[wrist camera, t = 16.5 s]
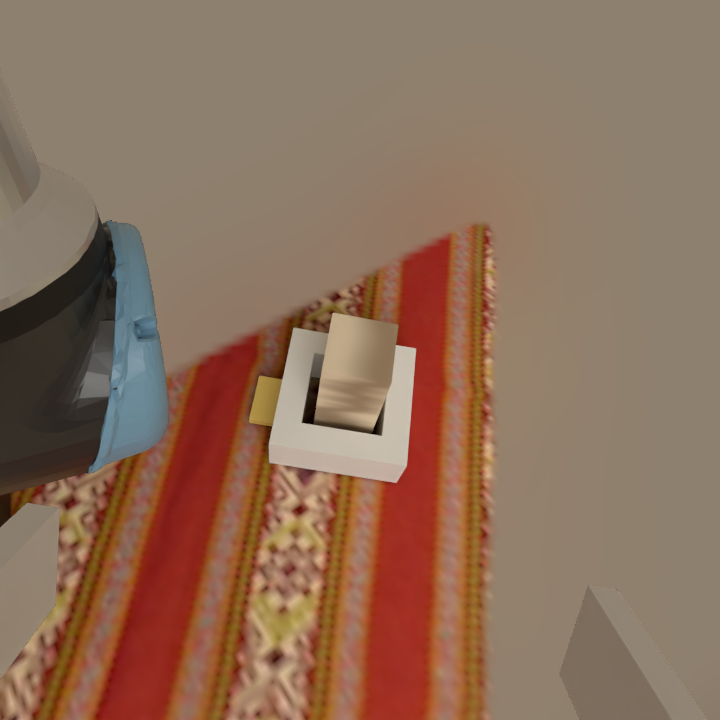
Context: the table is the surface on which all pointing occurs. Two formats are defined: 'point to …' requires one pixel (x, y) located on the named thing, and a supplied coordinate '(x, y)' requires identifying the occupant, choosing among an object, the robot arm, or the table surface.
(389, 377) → the beech peg
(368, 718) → the table surface
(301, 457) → the socket block
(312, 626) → the table surface
